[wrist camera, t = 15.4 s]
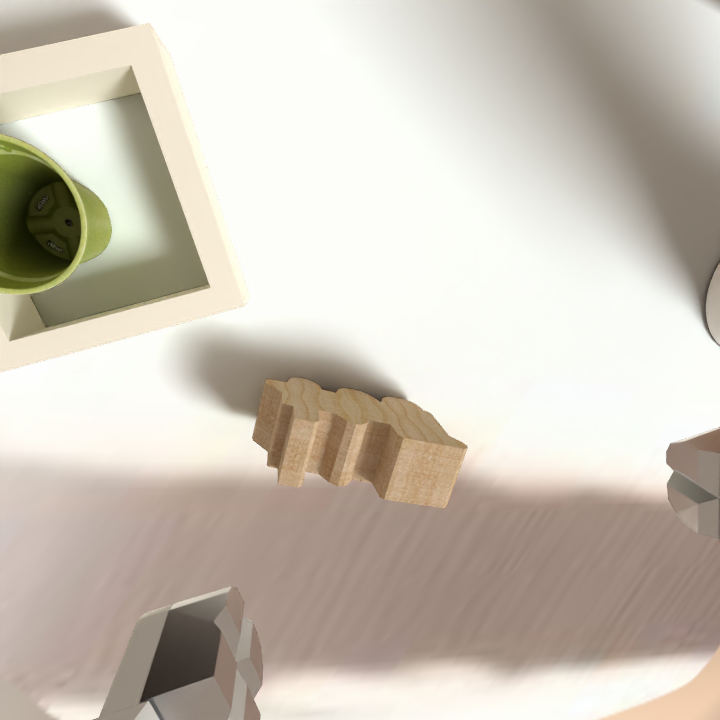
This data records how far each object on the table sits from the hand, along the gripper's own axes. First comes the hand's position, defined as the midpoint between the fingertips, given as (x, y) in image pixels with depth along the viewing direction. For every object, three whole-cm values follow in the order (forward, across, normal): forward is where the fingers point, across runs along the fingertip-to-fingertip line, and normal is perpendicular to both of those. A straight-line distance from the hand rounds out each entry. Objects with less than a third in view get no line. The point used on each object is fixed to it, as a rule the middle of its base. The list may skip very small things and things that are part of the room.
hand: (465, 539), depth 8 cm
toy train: (+33, +1, +12) cm, 36 cm away
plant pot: (+33, +18, -11) cm, 39 cm away
